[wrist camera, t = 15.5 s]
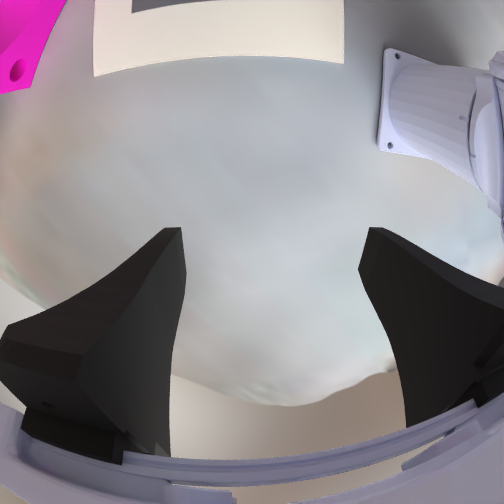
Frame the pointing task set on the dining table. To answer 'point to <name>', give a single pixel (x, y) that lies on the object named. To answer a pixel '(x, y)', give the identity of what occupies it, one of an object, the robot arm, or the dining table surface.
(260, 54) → the letter board
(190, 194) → the dining table surface
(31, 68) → the toy block
